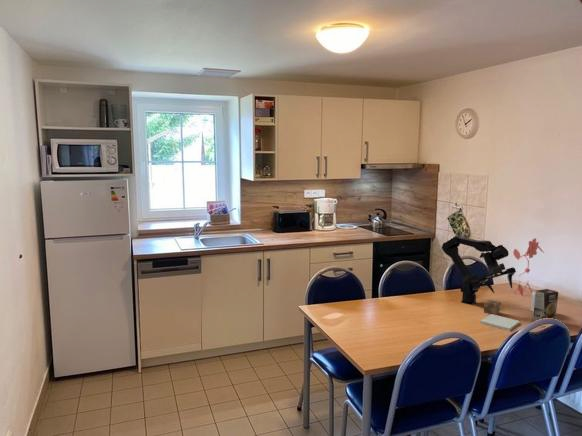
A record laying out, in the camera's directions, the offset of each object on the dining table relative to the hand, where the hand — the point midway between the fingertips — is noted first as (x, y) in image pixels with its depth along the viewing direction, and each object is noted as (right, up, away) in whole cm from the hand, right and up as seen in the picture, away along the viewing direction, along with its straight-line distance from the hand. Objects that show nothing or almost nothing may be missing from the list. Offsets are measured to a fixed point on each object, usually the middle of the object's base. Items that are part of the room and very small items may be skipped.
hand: (502, 290), depth 238 cm
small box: (+21, -13, +4) cm, 25 cm away
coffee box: (+17, -14, -9) cm, 24 cm away
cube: (-4, -12, +4) cm, 14 cm away
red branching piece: (+33, -8, +35) cm, 49 cm away
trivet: (-7, -14, -12) cm, 20 cm away
